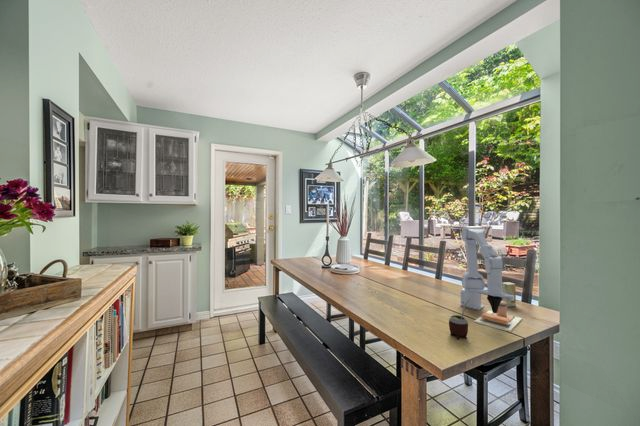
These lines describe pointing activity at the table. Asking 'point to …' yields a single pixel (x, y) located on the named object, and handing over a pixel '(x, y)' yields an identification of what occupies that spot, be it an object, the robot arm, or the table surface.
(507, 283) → the skincare box
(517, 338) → the table surface
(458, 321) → the mate gourd
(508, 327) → the picture board
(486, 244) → the robot arm
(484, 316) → the button
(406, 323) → the table surface
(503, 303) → the cylinder
